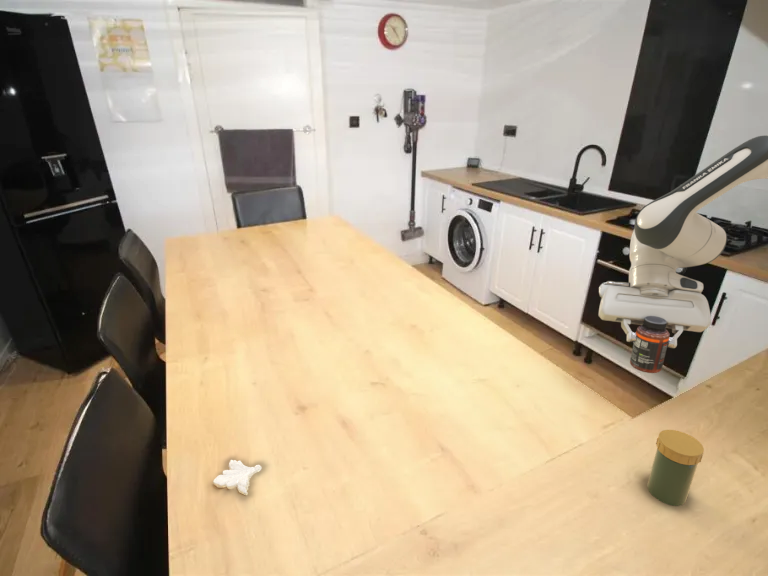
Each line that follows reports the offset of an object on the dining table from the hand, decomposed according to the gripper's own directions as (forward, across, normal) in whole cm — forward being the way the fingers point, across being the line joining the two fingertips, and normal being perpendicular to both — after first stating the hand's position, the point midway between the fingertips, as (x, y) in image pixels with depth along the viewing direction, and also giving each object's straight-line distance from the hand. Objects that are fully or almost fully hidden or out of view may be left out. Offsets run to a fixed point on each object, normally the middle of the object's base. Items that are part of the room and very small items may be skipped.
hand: (651, 344), depth 86 cm
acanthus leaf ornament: (+45, -71, -21) cm, 87 cm away
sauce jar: (+29, +1, -6) cm, 29 cm away
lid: (+21, +1, -13) cm, 25 cm away
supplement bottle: (+4, 0, +5) cm, 6 cm away
